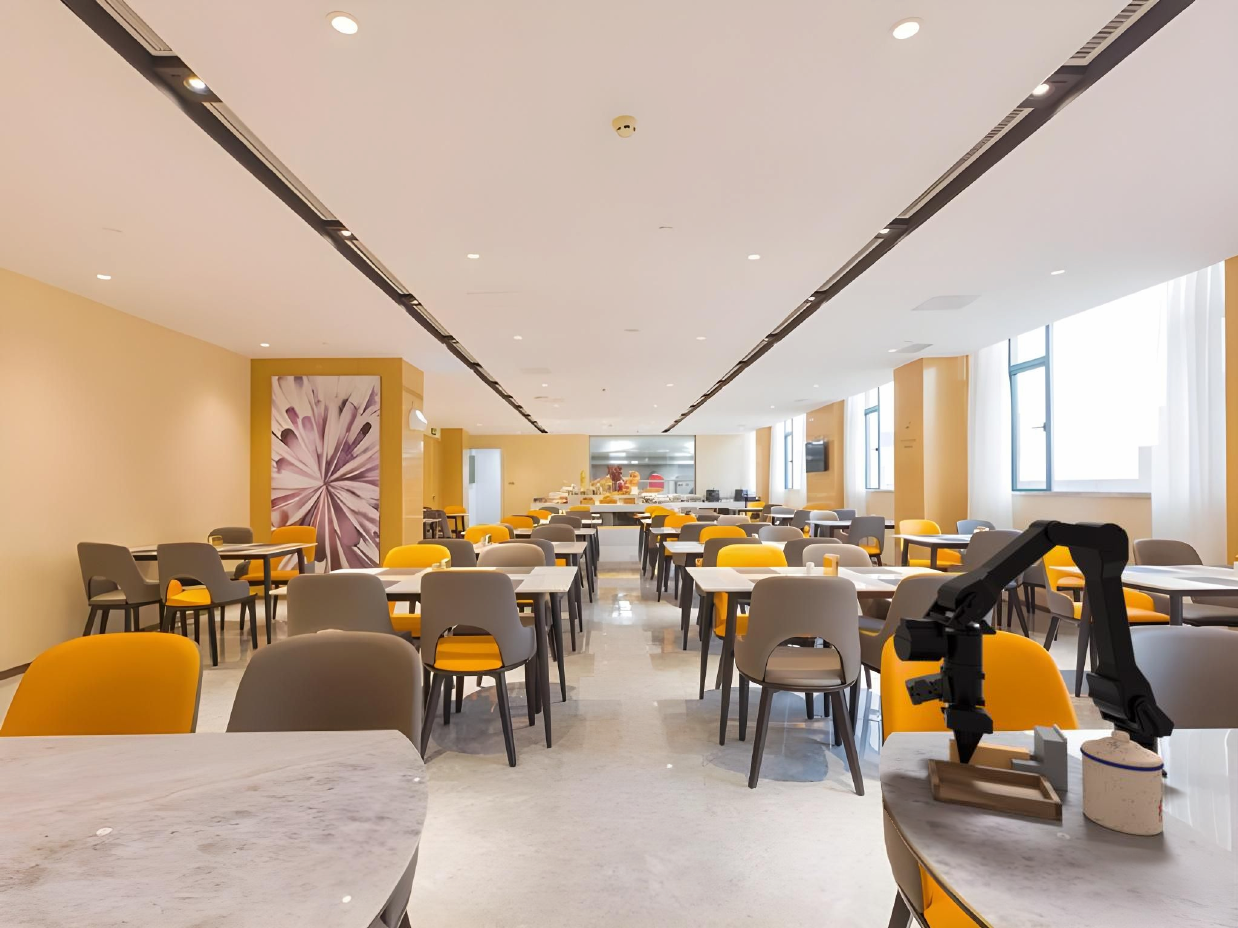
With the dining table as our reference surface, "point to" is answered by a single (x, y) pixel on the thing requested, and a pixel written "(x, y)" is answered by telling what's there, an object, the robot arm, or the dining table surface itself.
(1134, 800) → the teacup with lid
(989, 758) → the tan elongated block
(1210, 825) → the dining table surface
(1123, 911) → the dining table surface
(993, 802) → the tray
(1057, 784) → the grey slotted holder
